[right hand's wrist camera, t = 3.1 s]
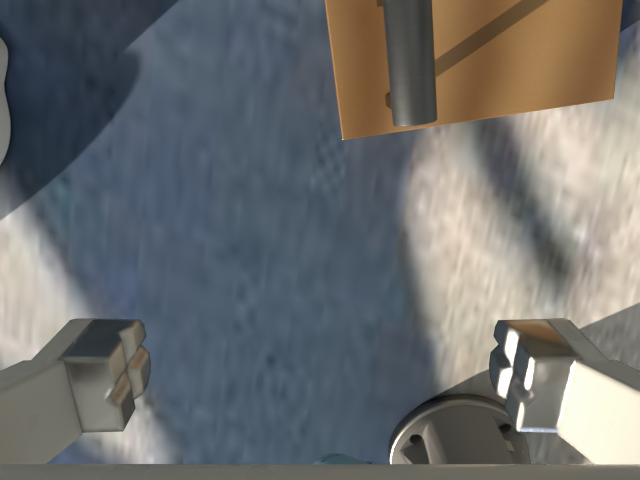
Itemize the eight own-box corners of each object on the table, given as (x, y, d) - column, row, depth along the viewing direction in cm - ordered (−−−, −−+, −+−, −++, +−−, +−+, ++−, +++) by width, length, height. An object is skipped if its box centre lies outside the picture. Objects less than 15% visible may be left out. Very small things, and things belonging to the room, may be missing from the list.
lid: (342, 136, 29) (353, 168, 21) (321, -28, 25) (324, -71, 17) (601, 97, 28) (723, 113, 20) (616, -78, 25) (771, -148, 16)
